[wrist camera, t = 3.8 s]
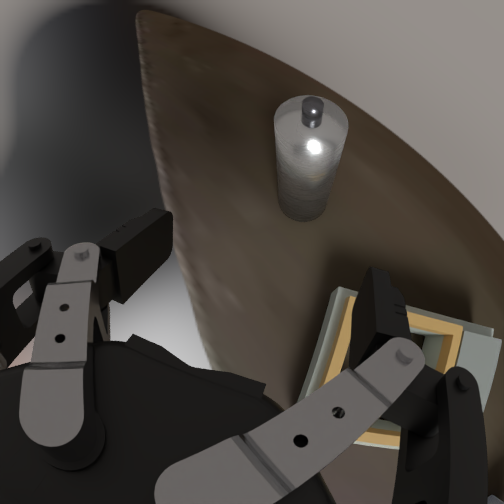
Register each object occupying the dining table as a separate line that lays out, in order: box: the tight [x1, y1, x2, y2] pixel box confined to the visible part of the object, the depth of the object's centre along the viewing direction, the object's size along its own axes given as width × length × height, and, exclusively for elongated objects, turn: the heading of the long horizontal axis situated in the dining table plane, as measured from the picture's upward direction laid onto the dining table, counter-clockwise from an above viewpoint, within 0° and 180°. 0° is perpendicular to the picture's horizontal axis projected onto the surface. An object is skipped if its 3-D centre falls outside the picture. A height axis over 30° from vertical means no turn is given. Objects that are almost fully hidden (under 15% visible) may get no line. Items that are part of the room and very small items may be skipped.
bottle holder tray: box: [297, 287, 502, 449], centre depth 19 cm, size 15×11×5 cm
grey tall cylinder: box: [274, 95, 348, 222], centre depth 21 cm, size 4×4×12 cm
